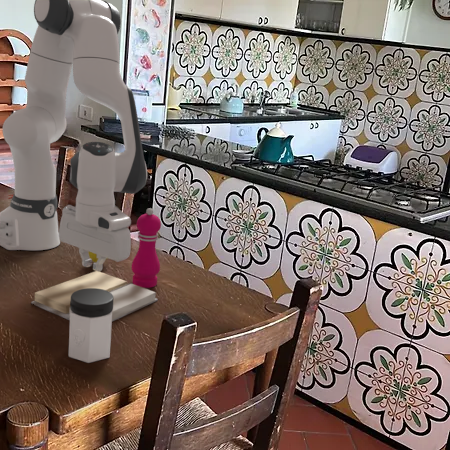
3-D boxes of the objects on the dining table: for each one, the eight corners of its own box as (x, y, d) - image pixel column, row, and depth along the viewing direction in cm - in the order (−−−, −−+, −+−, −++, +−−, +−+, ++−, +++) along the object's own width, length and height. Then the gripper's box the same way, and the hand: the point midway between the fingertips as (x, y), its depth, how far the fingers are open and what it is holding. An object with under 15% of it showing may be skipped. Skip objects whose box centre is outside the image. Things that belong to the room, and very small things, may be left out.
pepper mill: (153, 290, 155) (159, 214, 149) (126, 285, 156) (131, 209, 150) (162, 280, 162) (168, 207, 156) (136, 276, 163) (140, 202, 157)
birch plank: (34, 300, 141) (34, 292, 141) (96, 278, 158) (96, 270, 157) (66, 313, 136) (66, 305, 136) (126, 288, 153) (126, 281, 152)
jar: (58, 354, 120) (59, 297, 117) (82, 338, 128) (84, 284, 124) (97, 367, 117) (100, 309, 114) (120, 349, 125) (123, 294, 121)
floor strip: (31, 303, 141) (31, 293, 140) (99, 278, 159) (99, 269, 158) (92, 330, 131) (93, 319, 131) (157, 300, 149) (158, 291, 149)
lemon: (94, 269, 164) (95, 240, 162) (84, 262, 168) (85, 234, 166) (112, 266, 168) (114, 238, 166) (102, 259, 172) (103, 232, 169)
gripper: (53, 205, 147) (52, 259, 151) (117, 226, 137) (114, 283, 141) (73, 200, 153) (71, 253, 157) (136, 220, 143) (132, 276, 146)
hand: (92, 268), depth 149 cm, fingers open, 2 cm apart
